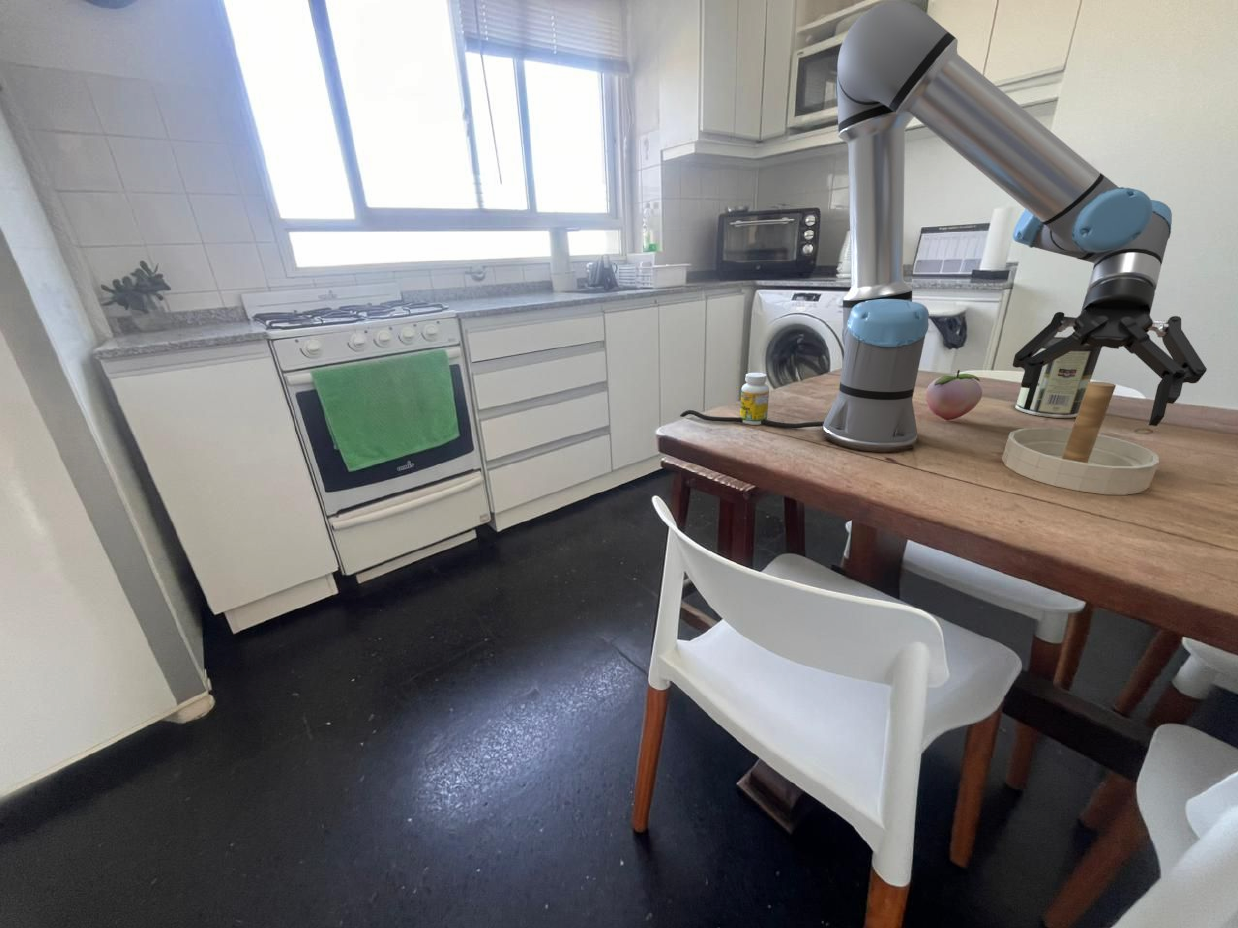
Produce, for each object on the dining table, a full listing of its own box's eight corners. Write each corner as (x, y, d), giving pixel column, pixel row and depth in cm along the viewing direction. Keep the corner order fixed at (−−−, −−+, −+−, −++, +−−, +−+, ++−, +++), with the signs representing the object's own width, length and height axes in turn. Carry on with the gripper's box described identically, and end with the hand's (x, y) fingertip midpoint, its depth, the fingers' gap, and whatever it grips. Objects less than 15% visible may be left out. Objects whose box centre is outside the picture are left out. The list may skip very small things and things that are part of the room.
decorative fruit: (944, 411, 102) (956, 363, 98) (982, 423, 95) (996, 371, 91) (909, 417, 99) (919, 368, 95) (945, 429, 92) (958, 376, 88)
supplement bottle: (771, 423, 98) (776, 376, 95) (747, 426, 97) (750, 378, 93) (758, 416, 103) (761, 370, 99) (734, 419, 102) (737, 373, 98)
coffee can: (1051, 403, 105) (1072, 335, 99) (1093, 417, 95) (1120, 344, 90) (1002, 404, 105) (1021, 337, 100) (1039, 419, 96) (1062, 345, 90)
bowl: (1015, 487, 69) (1024, 458, 67) (991, 448, 83) (998, 423, 81) (1171, 507, 63) (1186, 475, 61) (1117, 461, 76) (1128, 434, 74)
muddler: (1055, 474, 71) (1085, 386, 66) (1044, 461, 76) (1072, 378, 70) (1099, 479, 69) (1134, 389, 64) (1086, 466, 74) (1118, 380, 68)
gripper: (1231, 313, 70) (1206, 442, 65) (1013, 307, 85) (980, 411, 80) (1259, 275, 64) (1234, 413, 60) (1020, 275, 79) (984, 386, 74)
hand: (1088, 412), depth 70 cm, fingers open, 13 cm apart
